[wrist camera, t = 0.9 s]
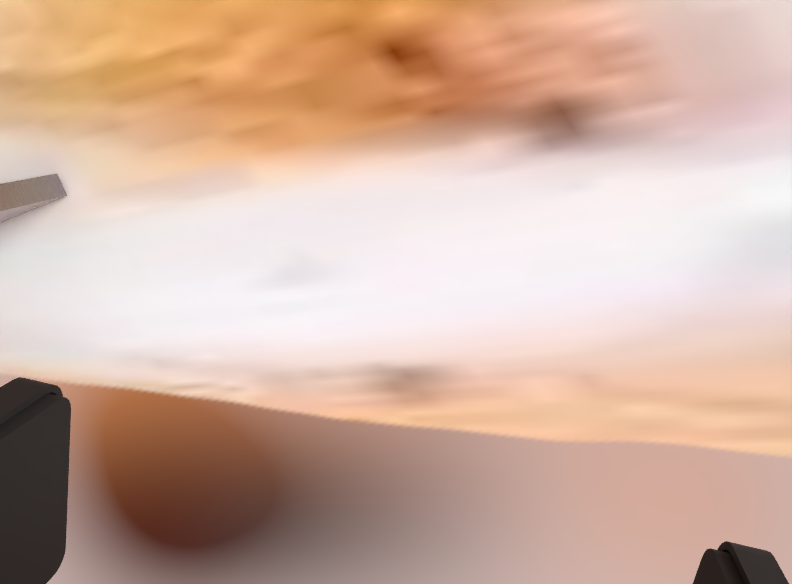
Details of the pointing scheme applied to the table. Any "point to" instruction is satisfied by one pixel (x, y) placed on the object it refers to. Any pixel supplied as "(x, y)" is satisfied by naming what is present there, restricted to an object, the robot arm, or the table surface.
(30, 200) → the hinge bracket
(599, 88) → the table surface
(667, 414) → the table surface
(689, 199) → the table surface
